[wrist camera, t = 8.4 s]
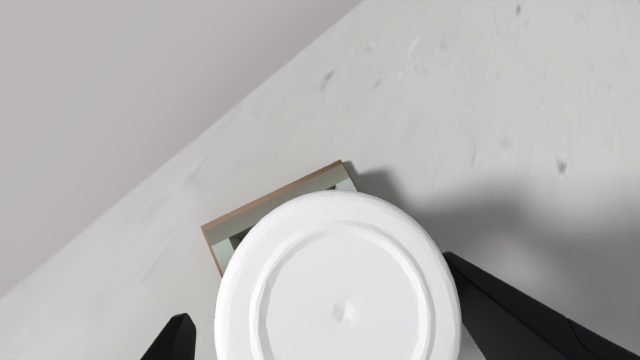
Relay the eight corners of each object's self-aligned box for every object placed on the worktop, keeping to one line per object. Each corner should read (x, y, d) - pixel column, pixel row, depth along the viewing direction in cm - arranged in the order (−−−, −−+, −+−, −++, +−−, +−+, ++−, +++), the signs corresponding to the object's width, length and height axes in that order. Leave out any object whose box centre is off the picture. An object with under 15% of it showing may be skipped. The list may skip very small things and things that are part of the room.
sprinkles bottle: (352, 285, 17) (522, 402, 4) (287, 311, 16) (251, 554, 3) (329, 220, 18) (408, 154, 5) (267, 242, 17) (177, 231, 4)
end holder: (412, 294, 18) (441, 306, 14) (270, 384, 16) (262, 425, 12) (338, 162, 20) (348, 144, 16) (204, 227, 18) (180, 222, 14)
